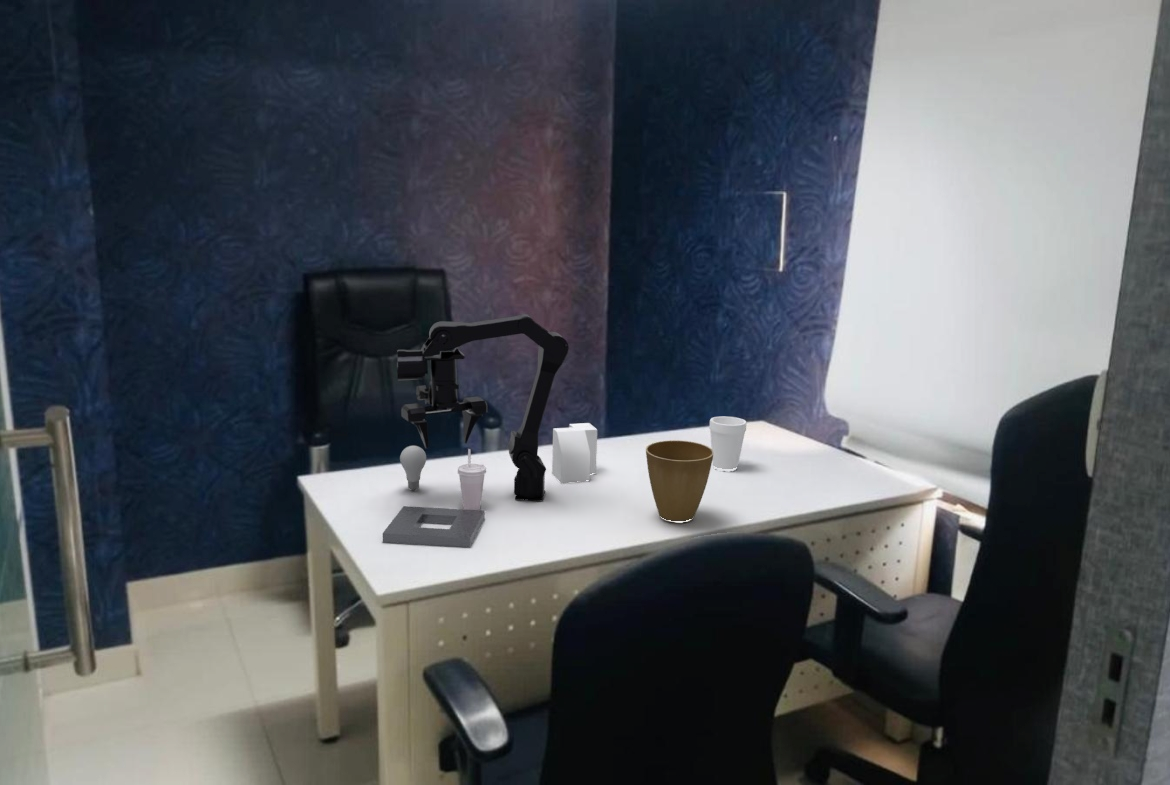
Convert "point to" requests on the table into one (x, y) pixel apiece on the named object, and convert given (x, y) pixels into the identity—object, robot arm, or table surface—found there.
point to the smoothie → (471, 483)
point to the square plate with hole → (458, 535)
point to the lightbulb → (413, 465)
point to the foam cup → (727, 440)
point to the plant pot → (678, 476)
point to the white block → (574, 452)
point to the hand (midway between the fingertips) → (446, 445)
